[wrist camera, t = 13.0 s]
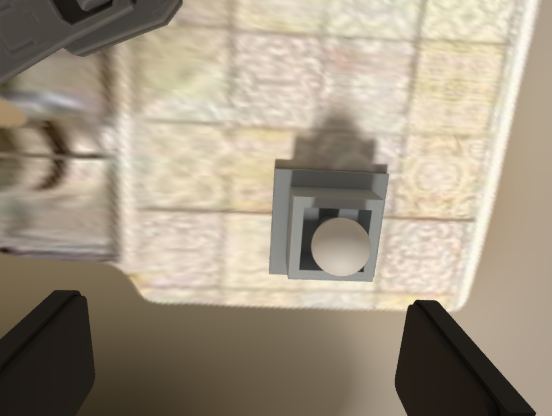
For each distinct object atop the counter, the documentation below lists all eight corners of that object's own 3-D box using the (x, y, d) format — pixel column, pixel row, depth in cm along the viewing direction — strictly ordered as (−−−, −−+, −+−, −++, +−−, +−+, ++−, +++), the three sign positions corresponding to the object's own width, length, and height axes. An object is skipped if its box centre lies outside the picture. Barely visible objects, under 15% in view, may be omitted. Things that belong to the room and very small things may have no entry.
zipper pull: (-112, 23, 32) (127, -118, 30) (-50, 36, 38) (151, -79, 36) (-44, 115, 34) (181, -8, 32) (3, 113, 41) (194, 10, 38)
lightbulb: (360, 217, 45) (391, 250, 34) (331, 254, 46) (351, 297, 35) (322, 190, 44) (342, 216, 33) (293, 228, 45) (303, 265, 34)
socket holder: (274, 167, 43) (276, 177, 38) (386, 172, 44) (404, 183, 38) (269, 270, 47) (270, 293, 42) (371, 273, 48) (386, 297, 42)
